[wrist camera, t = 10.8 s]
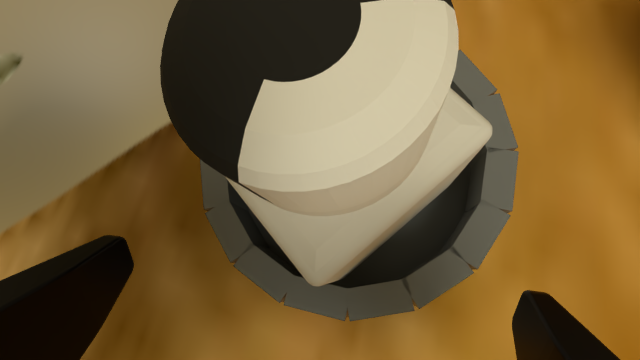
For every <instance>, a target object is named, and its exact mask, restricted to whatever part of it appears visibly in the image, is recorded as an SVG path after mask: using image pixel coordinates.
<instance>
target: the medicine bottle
mask: <svg viewBox="0 0 640 360" xmlns="http://www.w3.org/2000/svg"><path fill="white" fill-rule="evenodd" d="M457 56H458V26H457V21H456V15H455V10H454V7H453V5H452V2H451V0H179V1H178V2H177V4H176V6H175V8H174V11H173V13H172V16H171V18H170V21H169V23H168V27H167V31H166V35H165V39H164V44H163V48H162V57H161V65H160V67H161V68H160V69H161V87H162V93H163V98H164V103H165V105H166V108H167V111H168V114H169V117H170V119H171V121H172V123H173V125H174V127H175V129H176V131H177V132H178V134H179V136H180V137H181V138H182V140H183V141H184V142H185V143H186V145H187V146H188V147H189V149H190V150H191V151H192V152H193V153H195V154H196V155H197V156H198V157H199V158H200V159H201V160H202V161H203V162H204V163H206V164H207V165H209V166H210V167H212V168H213V169H214V170H216V171H217V172H219V173H220V174H222V175H224V176H225V177H226V179H227V180H228V181H229V182H230V184H231V185H232V186H233V188H234V189H235V190H236V191H237V193H238V194H239V195H240V197H241V198H242V199H243V200H244V202H245V203H246V204H247V205H248V207H249V208H250V209H251V211H252V212H253V213H254V214H255V216H256V217H257V218H258V220H259V221H260V222H261V223H262V225H263V226H264V227H265V229H266V230H267V231H268V232H269V234H270V235H271V236H272V237H273V239H274V240H275V241H276V243H277V244H278V245H279V246H280V248H281V249H282V250H283V252H284V253H285V254H286V255H287V257H288V258H289V259H290V261H291V262H292V263H293V264H294V266H295V267H296V268H297V269H298V271H299V272H300V273H301V275H302V276H303V277H304V278H305V280H306V281H307V282H308V283H309V284H311V285H312V286H322V285H325V284H328V283H331V282H335V281H338V280H341V279H343V278H345V277H346V276H347V275H348V274H349V273H350V272H352V271H353V270H354V269H355V268H356V267H357V266H358V265H360V264H361V263H362V262H363V261H364V260H365V259H366V258H368V257H369V256H370V255H371V254H372V253H373V252H374V251H376V250H377V249H378V248H379V247H380V246H381V245H382V244H384V243H385V242H386V241H387V240H388V239H389V238H390V237H391V236H393V235H394V234H395V233H396V232H397V231H398V230H399V229H401V228H402V227H403V226H404V225H405V224H406V223H407V222H409V221H410V220H411V219H412V218H413V217H414V216H415V215H417V214H418V213H419V212H420V211H421V210H422V209H423V208H425V207H426V206H427V205H428V204H429V203H430V202H431V201H432V200H434V199H435V198H436V197H437V196H438V195H439V194H440V193H442V192H443V191H444V190H445V189H446V188H447V187H448V186H449V185H450V184H451V183H452V182H453V181H454V179H455V178H456V177H457V176H458V175H459V174H460V173H461V171H462V170H463V169H464V168H465V167H466V166H467V165H468V163H469V162H470V161H471V160H472V159H473V158H474V156H475V155H476V154H477V153H478V152H479V151H480V150H481V148H482V147H483V146H484V145H485V144H486V143H487V142H488V140H489V139H490V137H491V136H492V125H491V124H490V122H489V121H488V120H486V119H485V118H484V117H483V116H482V115H481V114H480V113H478V112H477V111H476V110H475V109H474V108H473V107H472V106H471V105H469V104H468V103H467V102H466V101H465V100H464V99H463V98H461V97H460V96H459V95H458V94H457V93H456V92H455V91H454V90H452V89H451V88H450V85H451V82H452V79H453V76H454V73H455V70H456V63H457Z"/></svg>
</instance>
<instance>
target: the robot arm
mask: <svg viewBox="0 0 640 360" xmlns="http://www.w3.org/2000/svg"><path fill="white" fill-rule="evenodd" d="M133 267H134V262H133V259H132V256H131V253H130V250H129V247H128V245H127V242H126V240H125V239H124V238H123V237H120V236H112V235H106V236H103V237H100V238H98V239H96V240H93V241H91V242H89V243H86V244H84V245H82V246H79V247H77V248H75V249H73V250H70V251H68V252H66V253H63V254H61V255H59V256H56V257H54V258H52V259H49V260H47V261H45V262H42V263H40V264H38V265H36V266H33V267H31V268H29V269H26V270H24V271H22V272H19V273H17V274H15V275H12V276H10V277H8V278H5V279H3V280H1V281H0V360H80V359H81V357H82V356H83V354H84V353H85V351H86V350H87V348H88V347H89V345H90V344H91V342H92V341H93V339H94V338H95V336H96V335H97V333H98V332H99V330H100V329H101V327H102V325H103V323H104V322H105V320H106V318H107V316H108V315H109V313H110V311H111V309H112V307H113V306H114V304H115V302H116V300H117V298H118V297H119V295H120V293H121V291H122V289H123V288H124V286H125V284H126V282H127V280H128V278H129V277H130V275H131V273H132V271H133ZM512 330H513V337H514V343H515V349H516V356H517V360H620V359H619V358H618V357H617V356H616V355H615V354H614V353H613V352H611V351H610V350H609V349H608V348H607V347H606V346H605V345H604V344H603V343H602V342H601V341H600V340H598V339H597V338H596V337H595V336H594V335H593V334H592V333H591V332H590V331H589V330H588V329H586V328H585V327H584V326H583V325H582V324H581V323H580V322H579V321H578V320H577V319H576V318H575V317H573V316H572V315H571V314H570V313H569V312H568V311H567V310H566V309H565V308H564V307H563V306H561V305H560V304H559V303H558V302H557V301H556V300H555V299H554V298H553V297H552V296H550V295H549V294H547V293H545V292H538V291H530V290H527V291H524V292H523V293H522V295H521V298H520V300H519V303H518V305H517V308H516V311H515V313H514V316H513V320H512Z"/></svg>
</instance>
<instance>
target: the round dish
mask: <svg viewBox="0 0 640 360" xmlns="http://www.w3.org/2000/svg"><path fill="white" fill-rule="evenodd" d="M450 88H451V89H452V90H454V91H455V92H456V93H457V94H458V95H459V96H460V97H461V98H463V99H464V100H465V101H466V102H467V103H468V104H469V105H471V106H472V107H473V108H474V109H475V110H476V111H477V112H478V113H480V114H481V115H482V116H483V117H484V118H485V119H486V120H488V121H489V122H490V124H491V125H492V136H491V137H490V139H489V140H488V142H487V143H486V144H485V145H484V146H483V147H482V148H481V150H480V151H479V152H478V153H477V154H476V155H475V156H474V158H473V159H472V160H471V161H470V162H469V163H468V165H467V166H466V167H465V168H464V169H463V170H462V171H461V173H460V174H459V175H458V176H457V177H456V178H455V179H454V181H453V182H452V183H451V184H450V185H449V186H448V187H447V188H446V189H445V190H444V191H443V192H442V193H440V194H439V195H438V196H437V197H436V198H435V199H434V200H432V201H431V202H430V203H429V204H428V205H427V206H426V207H425V208H423V209H422V210H421V211H420V212H419V213H418V214H417V215H415V216H414V217H413V218H412V219H411V220H410V221H409V222H407V223H406V224H405V225H404V226H403V227H402V228H401V229H399V230H398V231H397V232H396V233H395V234H394V235H393V236H391V237H390V238H389V239H388V240H387V241H386V242H385V243H384V244H382V245H381V246H380V247H379V248H378V249H377V250H376V251H374V252H373V253H372V254H371V255H370V256H369V257H368V258H366V259H365V260H364V261H363V262H362V263H361V264H360V265H358V266H357V267H356V268H355V269H354V270H353V271H352V272H350V273H349V274H348V275H347V276H346V277H345V278H343V279H341V280H338V281H335V282H331V283H328V284H325V285H322V286H312V285H311V284H309V283H308V282H307V281H306V280H305V278H304V277H303V276H302V275H301V273H300V272H299V271H298V269H297V268H296V267H295V266H294V264H293V263H292V262H291V261H290V259H289V258H288V257H287V255H286V254H285V253H284V252H283V250H282V249H281V248H280V246H279V245H278V244H277V243H276V241H275V240H274V239H273V237H272V236H271V235H270V234H269V232H268V231H267V230H266V229H265V227H264V226H263V225H262V223H261V222H260V221H259V220H258V218H257V217H256V216H255V214H254V213H253V212H252V211H251V209H250V208H249V207H248V205H247V204H246V203H245V202H244V200H243V199H242V198H241V197H240V195H239V194H238V193H237V191H236V190H235V189H234V188H233V186H232V185H231V184H230V182H229V181H228V180H227V179H226V177H225V176H224V175H222V174H220V173H219V172H217V171H216V170H214V169H213V168H212V167H210V166H209V165H207V164H206V163H204V162H203V161H202V160H201V159H200V165H201V178H202V192H203V205H204V210H207V211H208V212H206V213H205V214H206V216H207V218H208V220H209V222H210V224H211V226H212V228H213V230H214V232H215V234H216V236H217V238H218V239H219V241H220V243H221V245H222V247H223V249H224V251H225V253H226V255H227V257H228V259H229V261H230V262H232V263H235V264H234V267H235V268H237V269H238V270H239V271H240V272H242V273H243V274H244V275H245V276H247V277H248V278H249V279H250V280H252V281H253V282H254V283H255V284H257V285H258V286H259V287H260V288H262V289H263V290H264V291H265V292H267V293H268V294H269V295H270V296H272V297H273V298H274V299H275V300H277V301H278V302H279V303H280V302H284V301H285V302H284V305H286V306H290V307H293V308H297V309H301V310H305V311H309V312H312V313H316V314H320V315H324V316H328V317H331V318H335V319H339V320H343V321H345V320H346V318H347V317H348V315H349V319H350V321H354V320H361V319H367V318H373V317H379V316H385V315H392V314H398V313H404V312H410V311H414V307H413V305H414V306H416V307H417V308H419V309H420V308H422V307H423V306H425V305H426V304H428V303H429V302H431V301H432V300H434V299H435V298H437V297H438V296H440V295H441V294H443V293H444V292H446V291H447V290H449V289H450V288H452V287H453V286H455V285H456V284H458V283H459V282H461V281H462V280H464V279H465V278H467V277H468V276H470V275H472V274H473V273H474V272H473V271H472V270H473V269H478V268H479V266H480V264H481V263H482V261H483V260H484V258H485V256H486V255H487V253H488V251H489V250H490V248H491V247H492V245H493V243H494V242H495V240H496V238H497V237H498V235H499V234H500V232H501V230H502V229H503V227H504V225H505V224H506V222H507V221H508V219H509V217H510V215H509V214H507V213H509V212H511V211H512V208H513V198H514V189H515V180H516V170H517V161H518V152H517V151H514V150H515V149H516V148H517V147H518V146H517V143H516V140H515V137H514V134H513V131H512V128H511V125H510V123H509V120H508V117H507V114H506V111H505V108H504V105H503V102H502V99H501V96H500V93H499V94H495V92H496V91H497V89H496V88H495V87H494V86H493V85H492V83H491V82H490V81H489V80H488V79H487V78H486V77H485V76H484V75H483V74H482V73H481V72H480V70H479V69H478V68H477V67H476V66H475V65H474V64H473V63H472V62H471V61H470V60H469V59H468V57H467V56H466V55H465V54H464V53H463V52H462V51H461V50H459V51H458V56H457V63H456V70H455V73H454V76H453V79H452V82H451V85H450ZM494 94H495V95H494Z"/></svg>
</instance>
